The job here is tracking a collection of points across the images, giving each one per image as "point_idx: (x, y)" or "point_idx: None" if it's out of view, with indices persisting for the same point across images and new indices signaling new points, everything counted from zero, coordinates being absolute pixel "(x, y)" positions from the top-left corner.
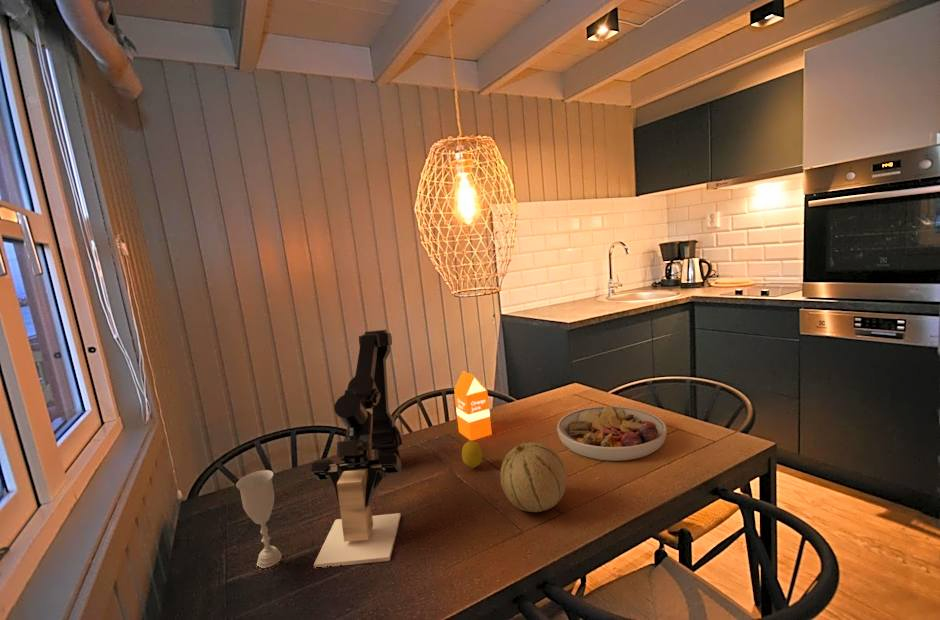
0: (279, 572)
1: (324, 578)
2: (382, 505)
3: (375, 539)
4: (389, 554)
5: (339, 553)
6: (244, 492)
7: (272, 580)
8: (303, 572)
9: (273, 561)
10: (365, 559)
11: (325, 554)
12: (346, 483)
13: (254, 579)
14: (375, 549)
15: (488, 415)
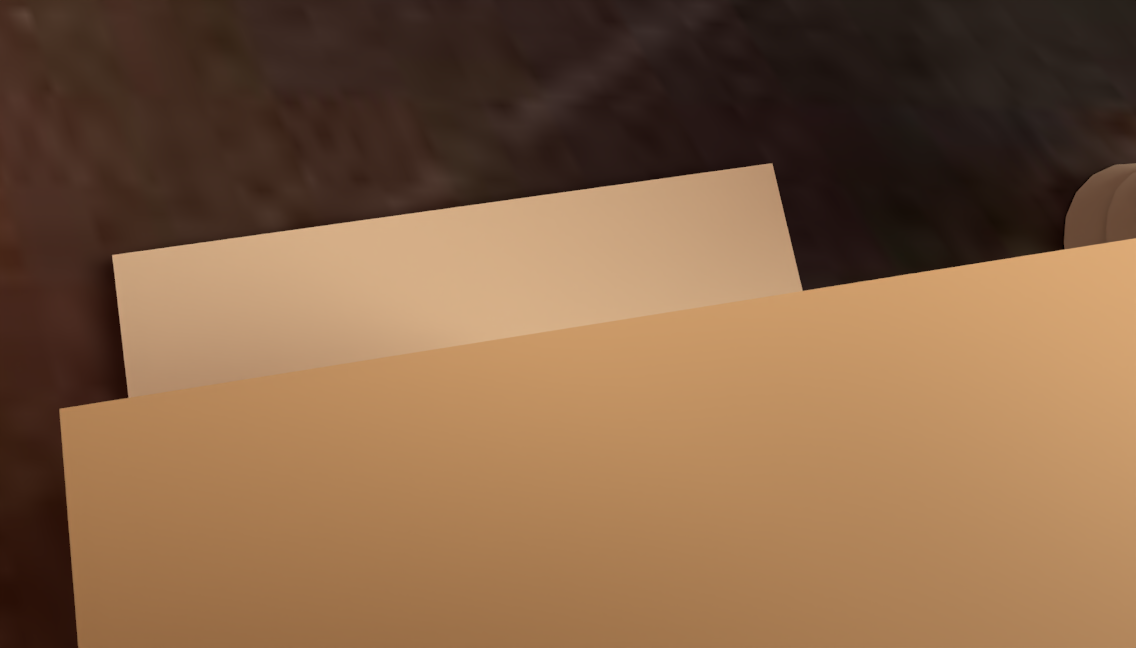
0: (993, 137)
1: (621, 73)
2: None
3: None
4: (120, 290)
5: (621, 295)
6: None
7: (989, 62)
8: (817, 135)
9: (1109, 203)
10: (342, 224)
11: (741, 283)
12: (789, 307)
13: (1116, 74)
14: (292, 357)
15: None
